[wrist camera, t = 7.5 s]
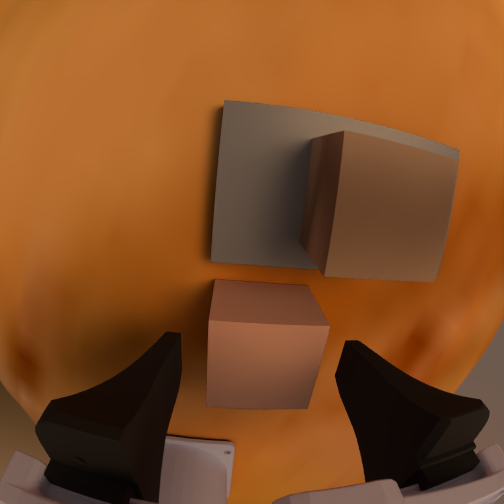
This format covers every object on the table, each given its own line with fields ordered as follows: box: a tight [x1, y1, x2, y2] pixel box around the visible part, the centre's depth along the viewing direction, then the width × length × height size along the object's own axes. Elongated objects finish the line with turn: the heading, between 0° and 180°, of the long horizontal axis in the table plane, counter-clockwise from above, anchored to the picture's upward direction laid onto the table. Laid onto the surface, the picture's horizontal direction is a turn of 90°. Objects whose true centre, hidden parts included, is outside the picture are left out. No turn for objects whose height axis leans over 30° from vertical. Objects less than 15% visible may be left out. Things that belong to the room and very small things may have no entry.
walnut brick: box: [300, 130, 457, 282], centre depth 11 cm, size 5×5×4 cm
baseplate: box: [211, 100, 459, 277], centre depth 13 cm, size 7×12×1 cm, turn 84°
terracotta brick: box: [206, 279, 330, 409], centre depth 14 cm, size 5×5×4 cm
